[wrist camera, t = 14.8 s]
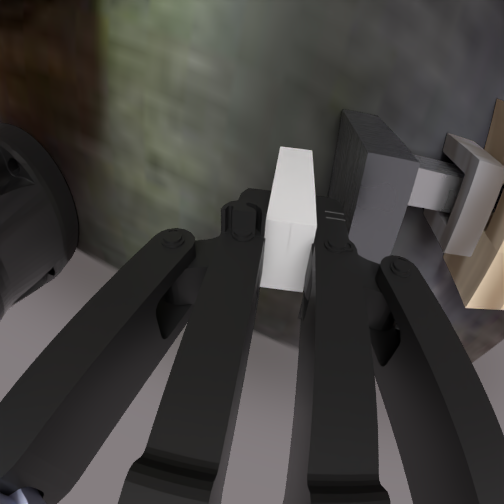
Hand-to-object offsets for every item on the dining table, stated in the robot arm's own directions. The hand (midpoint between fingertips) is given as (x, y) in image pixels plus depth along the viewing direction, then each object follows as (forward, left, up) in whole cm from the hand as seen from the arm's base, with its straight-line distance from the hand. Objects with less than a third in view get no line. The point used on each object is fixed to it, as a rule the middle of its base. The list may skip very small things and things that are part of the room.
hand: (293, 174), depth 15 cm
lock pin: (+7, 0, -3) cm, 7 cm away
